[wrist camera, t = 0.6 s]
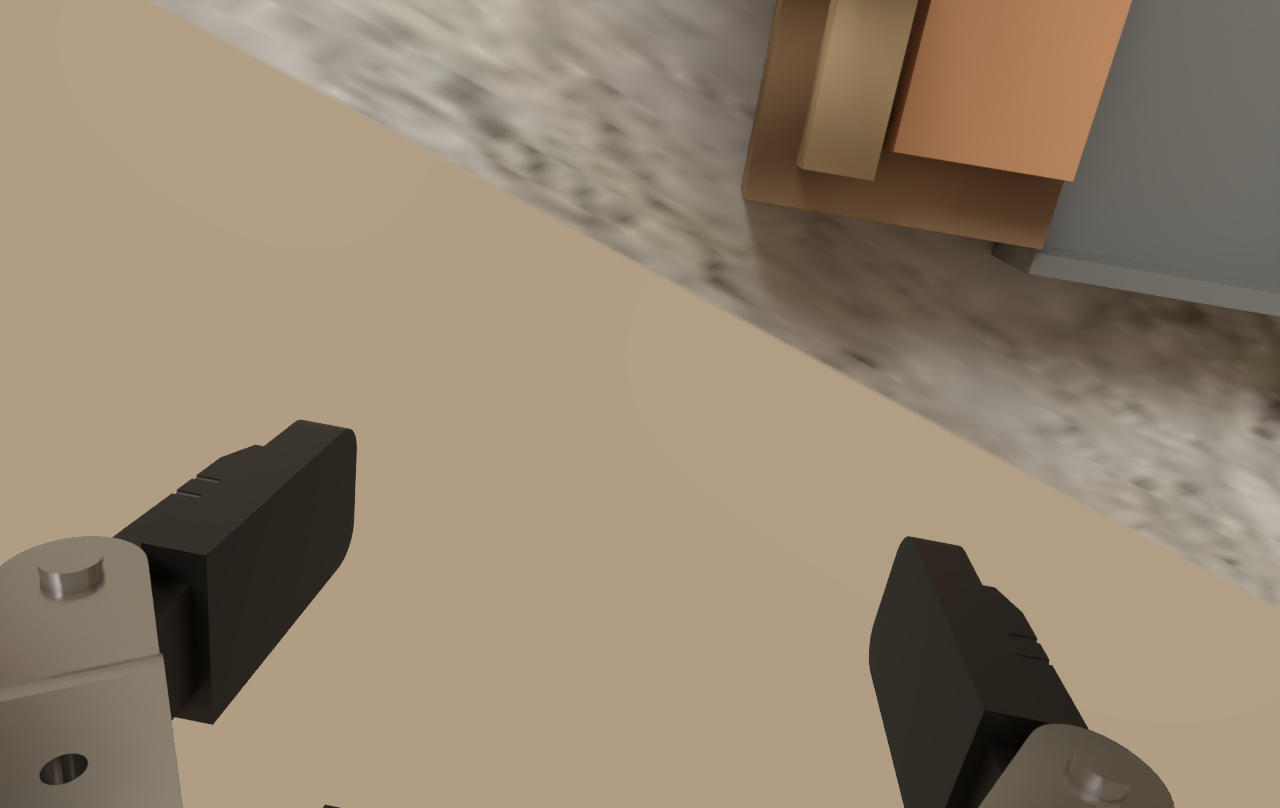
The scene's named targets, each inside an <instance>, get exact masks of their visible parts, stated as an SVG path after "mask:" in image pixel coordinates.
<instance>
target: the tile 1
mask: <svg viewBox="0 0 1280 808" xmlns="http://www.w3.org/2000/svg"><path fill="white" fill-rule="evenodd" d="M1131 2H1132V0H919V2H918V6H917V10H916V14H915V19H914V23H913V27H912V31H911V35H910V39H909V43H908V47H907V51H906V55H905V59H904V63H903V67H902V72H901V76H900V80H899V84H898V88H897V92H896V96H895V100H894V104H893V108H892V112H891V116H890V120H889V125H888V129H887V133H886V137H885V141H884V145H883V149H882V150H887V151H892V152H897V153H903V154H909V155H915V156H922V157H928V158H934V159H940V160H946V161H952V162H958V163H964V164H970V165H976V166H982V167H988V168H994V169H1000V170H1006V171H1012V172H1018V173H1024V174H1030V175H1036V176H1042V177H1048V178H1054V179H1060V180H1066V181H1072V182H1073V180H1074V177H1075V174H1076V171H1077V168H1078V165H1079V162H1080V159H1081V156H1082V153H1083V150H1084V147H1085V143H1086V140H1087V137H1088V134H1089V131H1090V128H1091V125H1092V122H1093V119H1094V116H1095V113H1096V110H1097V107H1098V103H1099V100H1100V97H1101V94H1102V91H1103V88H1104V85H1105V82H1106V79H1107V76H1108V73H1109V70H1110V67H1111V64H1112V60H1113V57H1114V54H1115V51H1116V48H1117V45H1118V42H1119V39H1120V36H1121V33H1122V30H1123V27H1124V24H1125V20H1126V17H1127V14H1128V11H1129V8H1130V5H1131Z"/></svg>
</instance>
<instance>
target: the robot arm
mask: <svg viewBox="0 0 1280 808" xmlns="http://www.w3.org/2000/svg"><path fill="white" fill-rule="evenodd" d="M356 455H357V443H356V436H355V434H354V432H353V430H351V429H348V428H342V427H337V426H332V425H327V424H321V423H316V422H311V421H306V420H298V421H296V422H294V423H293V424H292V425H290V426H289V427H288V428H287V429H285V430H284V431H283V432H282V433H280V434H279V435H278V436H276V437H275V438H274V439H273V440H271V441H270V442H269V443H267V444H266V445H265V446H259V445H254V446H251V447H248V448H246V449H243V450H240V451H237V452H234V453H231V454H229V455H226V456H223V457H221V458H219V459H218V460H216V461H215V462H214V463H212V464H211V465H210V466H208V467H207V468H206V469H204V470H203V471H202V472H200V473H199V474H198V475H197V477H196V479H191V480H190V481H188V482H187V483H185V484H184V485H183V486H181V487H180V488H179V489H177V493H176V494H170V495H169V496H168V497H167V498H165V499H164V500H162V501H161V502H160V503H158V504H157V505H156V506H154V507H153V508H151V509H150V510H149V511H148V512H146V513H145V514H143V515H142V516H141V517H139V518H138V519H137V520H135V521H134V522H132V523H131V524H130V525H128V526H127V527H126V528H124V529H123V530H122V531H120V532H119V533H118V534H116V535H115V536H114V537H112V538H111V537H99V536H88V537H87V536H86V537H75V538H67V539H61V540H57V541H53V542H49V543H45V544H42V545H39V546H36V547H33V548H31V549H28V550H26V551H24V552H21V553H19V554H18V555H16V556H14V557H12V558H11V559H9V560H8V561H6V562H5V563H4V564H2V565H1V567H0V808H183V804H182V796H181V789H180V782H179V774H178V766H177V759H176V751H175V743H174V735H173V728H172V720H173V718H174V717H177V718H182V719H187V720H192V721H197V722H202V723H207V724H212V725H213V724H214V723H215V721H216V720H217V719H218V717H219V716H220V715H221V714H222V713H223V711H224V710H225V709H226V708H227V706H228V705H229V704H230V703H231V701H232V700H233V699H234V698H235V696H236V695H237V694H238V692H239V691H240V690H241V689H242V687H243V686H244V685H245V684H246V683H247V681H248V680H249V679H250V678H251V676H252V675H253V674H254V673H255V671H256V670H257V669H258V668H259V666H260V665H261V664H262V663H263V661H264V660H265V659H266V658H267V656H268V655H269V654H270V652H271V651H272V650H273V649H274V648H275V646H276V645H277V644H278V643H279V641H280V640H281V639H282V637H283V636H284V635H285V634H286V633H287V631H288V630H289V629H290V628H291V626H292V625H293V624H294V623H295V621H296V620H297V619H298V618H299V616H300V615H301V614H302V613H303V611H304V610H305V609H306V608H307V606H308V605H309V604H310V603H311V601H312V600H313V599H314V598H315V596H316V595H317V594H318V592H319V591H320V590H321V589H322V587H323V586H324V585H325V584H326V582H327V581H328V580H329V579H330V578H331V576H332V575H333V574H334V573H335V571H336V570H337V569H338V567H339V566H340V565H341V563H342V562H343V560H344V558H345V556H346V553H347V551H348V548H349V545H350V541H351V538H352V533H353V527H354V507H355V481H356V480H355V479H356ZM869 666H870V672H871V676H872V680H873V684H874V688H875V692H876V696H877V700H878V704H879V708H880V712H881V716H882V720H883V724H884V728H885V732H886V736H887V740H888V744H889V748H890V752H891V756H892V760H893V764H894V768H895V772H896V776H897V780H898V784H899V788H900V792H901V796H902V800H903V804H904V808H1174V802H1173V800H1172V797H1171V794H1170V793H1169V791H1168V789H1167V787H1166V786H1165V784H1164V783H1163V782H1162V780H1161V779H1160V778H1159V776H1158V775H1157V774H1156V773H1155V772H1154V771H1153V770H1152V769H1151V768H1150V767H1149V766H1148V765H1147V764H1146V763H1144V762H1143V761H1142V760H1141V759H1140V758H1139V757H1137V756H1136V755H1135V754H1133V753H1132V752H1131V751H1129V750H1128V749H1126V748H1125V747H1123V746H1121V745H1120V744H1118V743H1117V742H1115V741H1113V740H1111V739H1109V738H1107V737H1105V736H1103V735H1101V734H1098V733H1096V732H1094V731H1091V730H1089V729H1088V727H1087V726H1086V724H1085V722H1084V720H1083V718H1082V717H1081V715H1080V713H1079V711H1078V710H1077V708H1076V706H1075V705H1074V703H1073V701H1072V699H1071V697H1070V696H1069V694H1068V692H1067V690H1066V689H1065V687H1064V685H1063V683H1062V682H1061V680H1060V678H1059V676H1058V675H1057V673H1056V671H1055V669H1054V668H1053V666H1052V665H1049V659H1048V657H1047V655H1046V653H1045V652H1044V650H1043V648H1042V646H1041V645H1040V644H1039V643H1037V638H1036V636H1035V634H1034V632H1033V630H1032V629H1031V627H1030V625H1029V623H1028V622H1027V620H1026V618H1025V616H1024V615H1023V613H1022V612H1021V611H1020V610H1019V609H1018V608H1017V607H1016V606H1015V605H1014V604H1012V603H1011V602H1010V601H1009V600H1008V599H1007V598H1006V597H1005V596H1004V595H1002V594H1001V593H1000V592H999V591H998V590H997V589H996V588H994V587H989V586H984V585H982V584H981V582H980V579H979V577H978V576H977V574H976V572H975V570H974V568H973V566H972V564H971V562H970V560H969V558H968V556H967V554H966V552H965V551H964V550H963V548H962V547H961V546H957V545H952V544H947V543H942V542H936V541H931V540H926V539H921V538H915V537H910V536H908V537H906V538H904V540H903V541H902V542H901V544H900V546H899V548H898V551H897V554H896V557H895V560H894V563H893V566H892V569H891V572H890V575H889V578H888V581H887V585H886V588H885V591H884V594H883V597H882V600H881V603H880V606H879V609H878V612H877V615H876V618H875V622H874V625H873V628H872V633H871V639H870V646H869ZM323 808H339V807H334V806H329V805H324V807H323Z"/></svg>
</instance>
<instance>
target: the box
mask: <svg viewBox="0 0 1280 808" xmlns="http://www.w3.org/2000/svg"><path fill="white" fill-rule="evenodd" d="M992 255H993V256H995V257H997V258H998V259H1000V260H1002V261H1004V262H1006V263H1008V264H1010V265H1012V266H1014V267H1016V268H1018V269H1020V270H1022V271H1024V272H1026V273H1028V274H1031V275H1037V276H1043V277H1049V278H1055V279H1061V280H1067V281H1073V282H1078V283H1084V284H1090V285H1096V286H1102V287H1108V288H1114V289H1120V290H1126V291H1131V292H1137V293H1143V294H1149V295H1155V296H1161V297H1167V298H1173V299H1178V300H1184V301H1190V302H1196V303H1202V304H1208V305H1214V306H1220V307H1226V308H1231V309H1237V310H1243V311H1249V312H1255V313H1261V314H1267V315H1273V316H1278V317H1280V0H1132V2H1131V5H1130V8H1129V11H1128V14H1127V17H1126V20H1125V24H1124V27H1123V30H1122V33H1121V36H1120V39H1119V42H1118V45H1117V48H1116V51H1115V54H1114V57H1113V60H1112V64H1111V67H1110V70H1109V73H1108V76H1107V79H1106V82H1105V85H1104V88H1103V91H1102V94H1101V97H1100V100H1099V103H1098V107H1097V110H1096V113H1095V116H1094V119H1093V122H1092V125H1091V128H1090V131H1089V134H1088V137H1087V140H1086V143H1085V147H1084V150H1083V153H1082V156H1081V159H1080V162H1079V165H1078V168H1077V171H1076V174H1075V177H1074V180H1073V182H1072V181H1066V180H1064V183H1063V186H1062V189H1061V192H1060V195H1059V199H1058V202H1057V205H1056V208H1055V211H1054V214H1053V217H1052V220H1051V223H1050V227H1049V230H1048V233H1047V236H1046V239H1045V242H1044V245H1043V248H1042V250H1041V249H1035V248H1030V247H1024V246H1018V245H1012V244H1006V243H1000V242H995V245H994V249H993V252H992Z"/></svg>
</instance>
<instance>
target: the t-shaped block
mask: <svg viewBox="0 0 1280 808" xmlns="http://www.w3.org/2000/svg"><path fill="white" fill-rule="evenodd" d="M917 2H918V0H831V2H830V6H829V11H828V16H827V21H826V25H825V30H824V35H823V39H822V44H821V49H820V54H819V58H818V63H817V68H816V73H815V77H814V82H813V87H812V91H811V96H810V101H809V106H808V110H807V115H806V120H805V124H804V129H803V134H802V139H801V143H800V148H799V153H798V157H797V162H796V165H797V166H799V167H800V168H802V169H805V170H811V171H817V172H823V173H829V174H835V175H841V176H847V177H853V178H859V179H865V180H871V181H874V178H875V174H876V170H877V166H878V161H879V157H880V153H881V149H882V145H883V141H884V137H885V133H886V129H887V125H888V121H889V117H890V112H891V108H892V104H893V100H894V96H895V92H896V88H897V84H898V80H899V76H900V72H901V67H902V63H903V59H904V55H905V51H906V47H907V43H908V39H909V35H910V31H911V27H912V23H913V18H914V14H915V10H916V6H917Z"/></svg>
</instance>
